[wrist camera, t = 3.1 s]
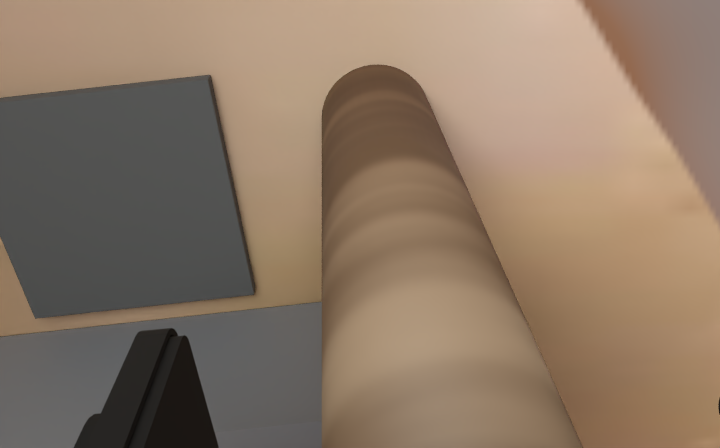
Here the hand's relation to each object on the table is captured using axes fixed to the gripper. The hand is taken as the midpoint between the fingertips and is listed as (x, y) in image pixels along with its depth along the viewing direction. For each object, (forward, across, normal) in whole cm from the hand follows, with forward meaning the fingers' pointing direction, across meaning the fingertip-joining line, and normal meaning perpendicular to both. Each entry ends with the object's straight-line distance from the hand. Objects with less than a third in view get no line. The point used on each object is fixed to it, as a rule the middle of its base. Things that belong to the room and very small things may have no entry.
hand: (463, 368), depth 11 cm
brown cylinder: (+12, +1, 0) cm, 12 cm away
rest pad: (+12, +10, +2) cm, 15 cm away
